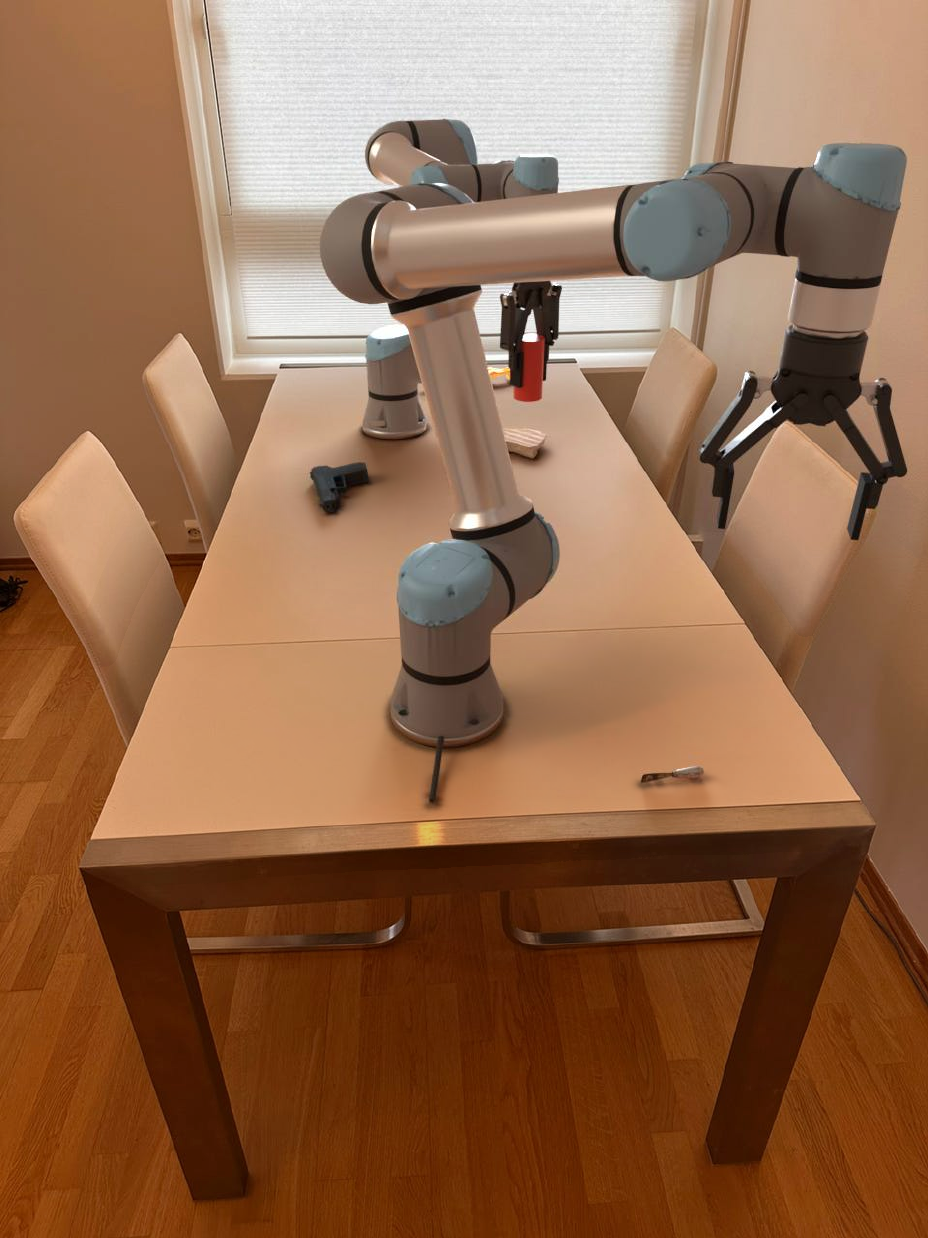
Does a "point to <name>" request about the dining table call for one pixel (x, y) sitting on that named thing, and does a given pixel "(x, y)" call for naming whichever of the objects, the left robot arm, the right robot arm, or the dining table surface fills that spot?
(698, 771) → the putty knife
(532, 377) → the can
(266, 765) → the dining table surface
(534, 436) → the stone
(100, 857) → the dining table surface
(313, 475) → the handgun
